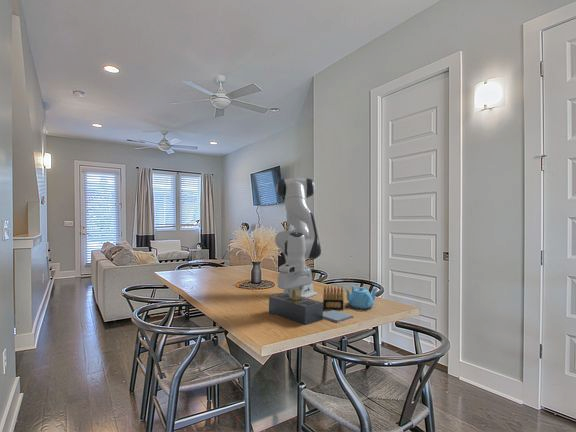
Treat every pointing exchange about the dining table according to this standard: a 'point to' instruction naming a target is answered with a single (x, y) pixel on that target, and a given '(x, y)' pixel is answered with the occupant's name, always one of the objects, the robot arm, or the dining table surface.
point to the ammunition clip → (333, 299)
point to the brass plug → (296, 295)
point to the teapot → (361, 297)
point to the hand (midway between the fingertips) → (295, 296)
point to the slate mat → (336, 316)
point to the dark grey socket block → (296, 309)
